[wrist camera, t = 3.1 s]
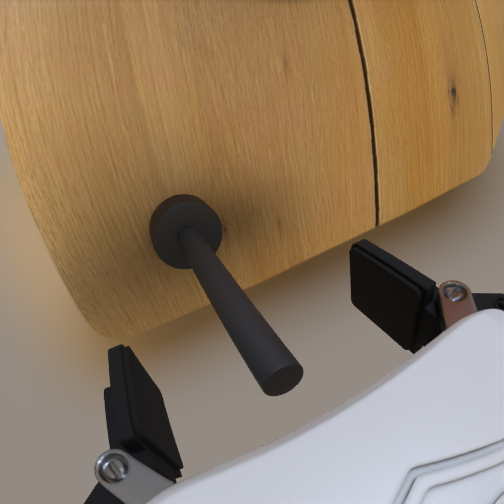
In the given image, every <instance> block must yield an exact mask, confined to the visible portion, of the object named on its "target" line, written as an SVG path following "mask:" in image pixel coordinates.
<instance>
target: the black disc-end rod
mask: <svg viewBox="0 0 504 504" xmlns="http://www.w3.org/2000/svg"><path fill="white" fill-rule="evenodd" d="M150 236H151V239H152V242H153V245H154V248H155V251H156V253H157V255H158V256H159V258H160V259H161V260H162V261H163V262H165V263H166V264H168V265H169V266H171V267H174V268H178V269H191V268H192V269H193V271H194V273H195V275H196V277H197V278H198V280H199V282H200V284H201V286H202V288H203V289H204V291H205V293H206V295H207V297H208V299H209V300H210V302H211V304H212V306H213V307H214V309H215V311H216V313H217V315H218V316H219V318H220V320H221V321H222V323H223V325H224V327H225V329H226V330H227V332H228V334H229V335H230V337H231V339H232V341H233V342H234V344H235V346H236V347H237V349H238V351H239V352H240V354H241V356H242V358H243V359H244V361H245V363H246V364H247V366H248V368H249V369H250V371H251V372H252V374H253V376H254V377H255V379H256V381H257V382H258V384H259V385H260V387H261V389H262V390H263V392H264V393H265V394H267V395H269V396H278V395H282V394H285V393H287V392H288V391H290V390H292V389H293V388H294V387H295V386H296V385H297V384H298V383H299V382H300V380H301V379H302V377H303V368H302V366H301V365H300V364H299V363H298V361H297V360H296V358H295V357H294V356H293V355H292V353H291V352H290V351H289V350H288V348H287V347H286V346H285V345H284V344H283V342H282V341H281V339H280V338H279V337H278V336H277V334H276V333H275V332H274V331H273V329H272V328H271V327H270V326H269V324H268V323H267V322H266V320H265V319H264V318H263V316H262V315H261V314H260V312H259V311H258V310H257V309H256V307H255V306H254V305H253V303H252V302H251V301H250V299H249V298H248V297H247V295H246V294H245V293H244V291H243V290H242V289H241V288H240V286H239V285H238V284H237V282H236V281H235V280H234V278H233V277H232V276H231V274H230V273H229V272H228V270H227V269H226V268H225V266H224V265H223V264H222V262H221V261H220V260H219V258H218V257H217V256H216V254H215V253H216V252H217V250H218V248H219V246H220V243H221V240H222V225H221V222H220V219H219V217H218V216H217V214H216V213H215V212H214V211H213V210H212V209H211V208H210V207H209V206H208V205H207V204H206V203H205V202H204V201H203V200H201V199H200V198H198V197H195V196H192V195H176V196H173V197H171V198H168V199H167V200H165V201H164V202H162V203H161V204H160V205H159V206H158V207H157V209H156V210H155V211H154V213H153V215H152V218H151V221H150Z"/></svg>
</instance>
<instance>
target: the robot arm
mask: <svg viewBox="0 0 504 504" xmlns="http://www.w3.org/2000/svg"><path fill="white" fill-rule="evenodd" d="M349 254H350V276H351V277H350V278H351V301H352V303H353V305H354V306H355V307H357V308H358V309H359V310H360V311H361V312H362V313H363V314H364V315H366V316H367V317H368V318H369V319H370V320H371V321H373V322H374V323H375V324H376V325H377V326H378V327H379V328H381V329H382V330H383V331H384V332H385V333H387V334H388V335H389V336H390V337H391V338H392V339H393V340H394V341H396V342H397V343H398V344H399V345H400V346H401V347H402V348H403V349H405V350H410V351H411V352H412V353H413V354H414V353H415V354H414V355H413V356H412V357H410V358H409V359H408V360H406V361H405V362H404V363H402V364H401V365H399V366H398V367H397V368H395V369H394V370H392V371H391V372H390V373H388V374H387V375H385V376H384V377H383V378H381V379H380V380H378V381H377V382H375V383H374V384H372V385H371V386H369V387H368V388H366V389H365V390H363V391H362V392H360V393H358V394H357V395H355V396H354V397H352V398H351V399H349V400H347V401H346V402H344V403H342V404H341V405H339V406H337V407H336V408H334V409H332V410H331V411H329V412H327V413H325V414H324V415H322V416H320V417H318V418H317V419H315V420H313V421H311V422H309V423H307V424H306V425H304V426H302V427H300V428H298V429H296V430H294V431H292V432H291V433H289V434H287V435H285V436H283V437H281V438H279V439H276V440H274V441H272V442H270V443H268V444H266V445H264V446H262V447H260V448H257V449H255V450H253V451H251V452H248V453H246V454H244V455H242V456H239V457H237V458H235V459H233V460H230V461H228V462H225V463H223V464H220V465H218V466H216V467H213V468H210V469H208V470H205V471H203V472H201V473H198V474H196V475H194V476H191V477H189V478H187V479H184V480H182V481H180V482H178V483H176V478H179V477H182V475H181V472H180V469H182V468H183V463H182V460H181V457H180V454H179V451H178V448H177V445H176V442H175V439H174V436H173V432H172V429H171V426H170V423H169V419H168V415H167V412H166V408H165V405H164V401H163V397H162V394H161V392H160V390H159V388H158V387H157V386H156V384H155V383H154V382H153V381H152V379H151V378H150V376H149V374H148V373H147V372H146V371H145V369H144V367H143V366H142V365H141V363H140V362H139V360H138V359H137V357H136V356H135V354H134V353H133V351H132V350H131V348H130V347H129V346H127V347H124V346H123V345H118V346H116V347H113V348H111V349H109V350H108V360H109V375H110V387H108V388H105V390H104V400H105V412H106V421H107V430H108V438H109V445H110V450H107V451H105V452H104V453H102V454H101V455H100V456H99V457H98V459H97V461H96V463H95V467H94V469H95V476H96V478H97V480H98V481H99V482H98V484H97V485H96V486H95V488H94V489H93V491H92V492H91V494H90V495H89V497H88V498H87V500H86V501H85V503H84V504H504V294H501V293H500V294H498V293H497V294H492V293H491V294H489V293H486V294H485V293H471V291H470V289H469V288H468V287H467V286H466V285H465V284H463V283H462V282H459V281H453V280H451V281H446V282H444V283H442V284H441V285H440V287H439V288H438V287H436V282H434V281H433V280H431V279H430V278H428V277H427V276H425V275H423V274H422V273H420V272H419V271H417V270H416V269H414V268H412V267H411V266H409V265H408V264H406V263H404V262H403V261H401V260H399V259H398V258H396V257H394V256H393V255H391V254H390V253H388V252H386V251H384V250H383V249H381V248H379V247H378V246H376V245H374V244H373V243H371V242H369V241H368V240H365V239H363V240H361V241H359V242H357V243H354V244H353V245H352V247H351V250H350V252H349ZM422 346H424V347H423V348H422ZM421 348H422V349H421ZM419 349H421V350H419ZM418 350H419V351H418ZM417 351H418V352H417ZM416 352H417V353H416Z"/></svg>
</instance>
